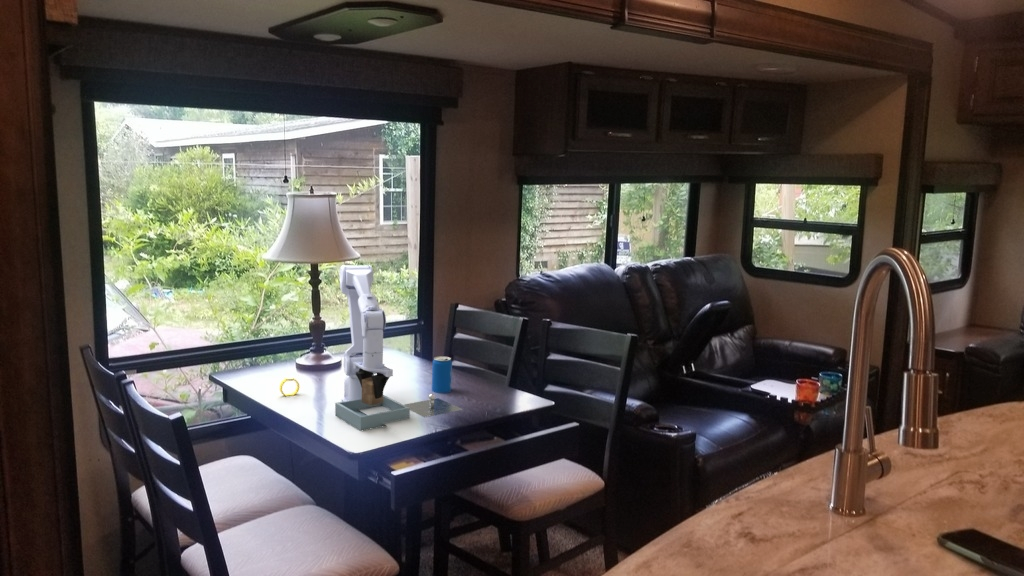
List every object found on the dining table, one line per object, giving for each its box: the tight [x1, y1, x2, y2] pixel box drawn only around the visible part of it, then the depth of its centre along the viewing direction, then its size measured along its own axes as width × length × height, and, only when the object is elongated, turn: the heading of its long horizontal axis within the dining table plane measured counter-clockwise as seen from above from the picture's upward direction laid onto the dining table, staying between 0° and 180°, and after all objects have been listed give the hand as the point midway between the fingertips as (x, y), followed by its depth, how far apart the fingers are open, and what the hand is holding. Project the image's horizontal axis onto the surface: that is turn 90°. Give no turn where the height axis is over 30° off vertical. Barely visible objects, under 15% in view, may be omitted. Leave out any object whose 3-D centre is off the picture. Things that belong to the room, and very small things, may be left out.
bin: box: [334, 394, 411, 432], centre depth 219 cm, size 16×16×4 cm
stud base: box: [403, 393, 464, 418], centre depth 228 cm, size 14×14×5 cm
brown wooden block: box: [362, 377, 384, 405], centre depth 218 cm, size 4×4×7 cm
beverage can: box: [431, 355, 453, 394], centre depth 247 cm, size 6×6×12 cm
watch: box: [279, 376, 300, 397], centre depth 238 cm, size 6×3×6 cm, turn 123°
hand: (372, 396), depth 218 cm, fingers closed on brown wooden block, 4 cm apart
